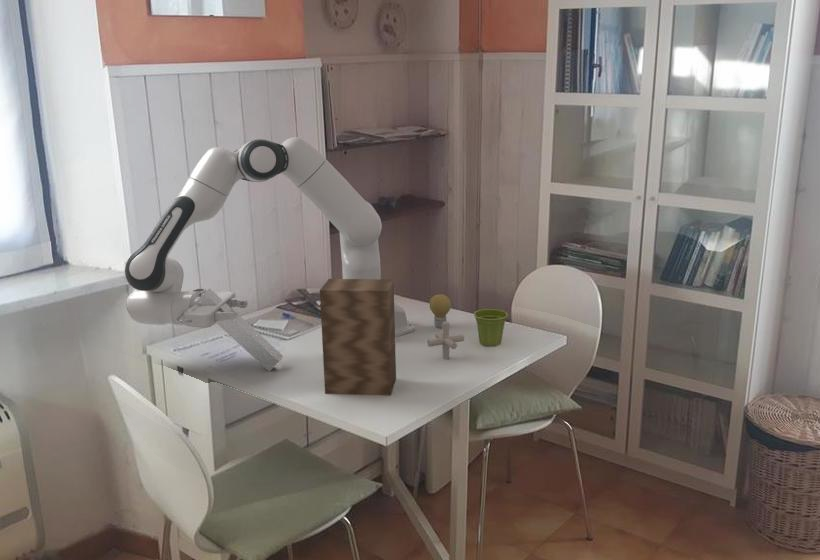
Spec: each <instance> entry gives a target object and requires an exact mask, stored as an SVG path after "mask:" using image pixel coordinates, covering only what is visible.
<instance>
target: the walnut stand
mask: <svg viewBox="0 0 820 560" xmlns="http://www.w3.org/2000/svg"><path fill="white" fill-rule="evenodd" d="M394 282H395V281H394V279H387V278H386V279H385V278H384V279H382V278H381V279H343V278H328V279H327V280H326V282H325V283H324V284H323V286H322V287H321V288H320V289H319V300H320V301H319V302H320V319H321V320H320V322H321V323H320V324H321V338H322V344H321V345H322V357H323V358H322V361H323V378H324V379H323V382H324V394H328V395H329V394H331V395H333V394H334V395H363V396H364V395H367V396H391V395H392V393H393V389H394V386H395V384H396V381H397V372H396V371H397V367H396V366H397V365H396V359H397V358H396V337H395V316H394V303H395V283H394Z"/></svg>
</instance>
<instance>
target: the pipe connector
mask: <svg viewBox="0 0 820 560" xmlns="http://www.w3.org/2000/svg"><path fill="white" fill-rule="evenodd" d="M441 331H442V332H440V331H435V333H434V337H435V338H434V339H433V338H432V339H428V340H427V345H428V347H429V348H430V347H436V346H442V359H443V360H449V359H450V349H452V350H455V349H457V347H458V345H457V344H458V342H464V340H465V337H464V335H463V334H457V335H451V336H450V322H448V321H447V322H442V328H441Z"/></svg>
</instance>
